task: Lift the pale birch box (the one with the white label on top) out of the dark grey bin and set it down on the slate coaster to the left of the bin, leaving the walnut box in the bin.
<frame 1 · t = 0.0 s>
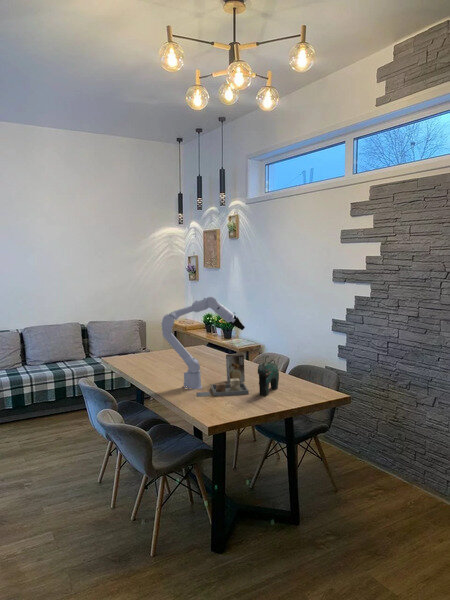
hand: (242, 327, 245), 32 cm above the table, tool tilted 50°, fingers open, 7 cm apart
slate coaster: (203, 395, 230), on the table
walnut box: (220, 393, 231), resting on bin
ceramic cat: (268, 392, 232), on the table
bin: (229, 392, 235), on the table
birch box: (235, 390, 235), resting on bin
coffee box: (235, 382, 254), on the table
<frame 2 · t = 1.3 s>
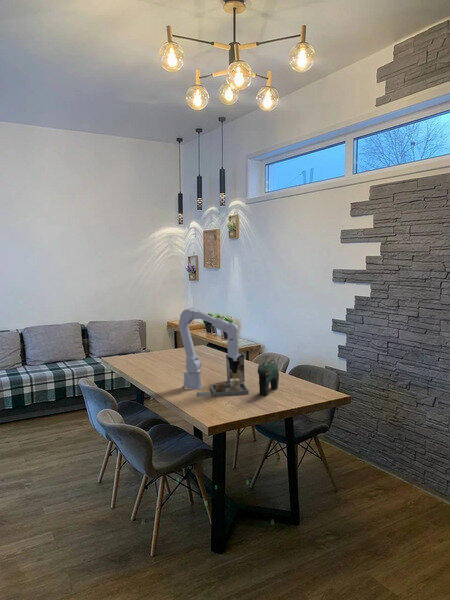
hand: (233, 371, 239), 10 cm above the table, tool pointing down, fingers open, 7 cm apart
nothing on the table moved.
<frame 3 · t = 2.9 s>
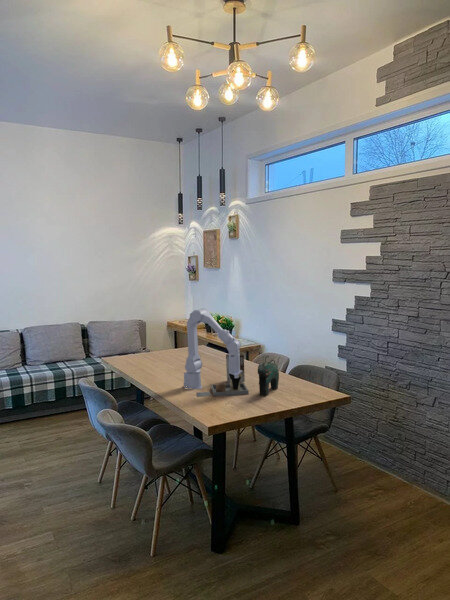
hand: (235, 388, 235), 2 cm above the table, tool pointing down, fingers closed on birch box, 4 cm apart
birch box: (235, 390, 235), resting on bin, touching gripper
everything else where it was.
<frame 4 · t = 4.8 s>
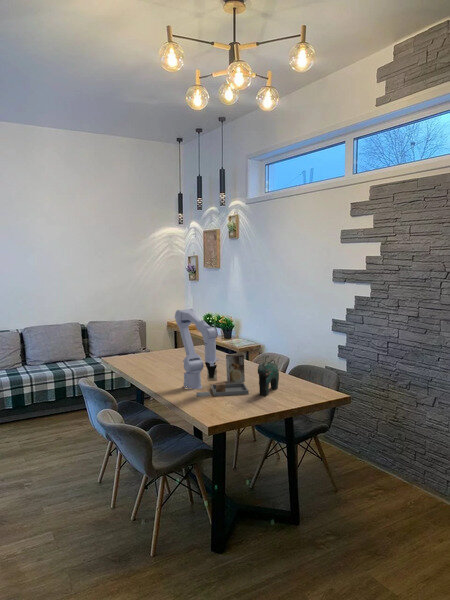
hand: (211, 376, 231), 9 cm above the table, tool pointing down, fingers closed on birch box, 4 cm apart
birch box: (212, 380, 231), point 8 cm above the table, touching gripper
everything else where it was.
when the fingers open (3 cm above the table, at t = 6.8 s): birch box stays where it is, resting on slate coaster.
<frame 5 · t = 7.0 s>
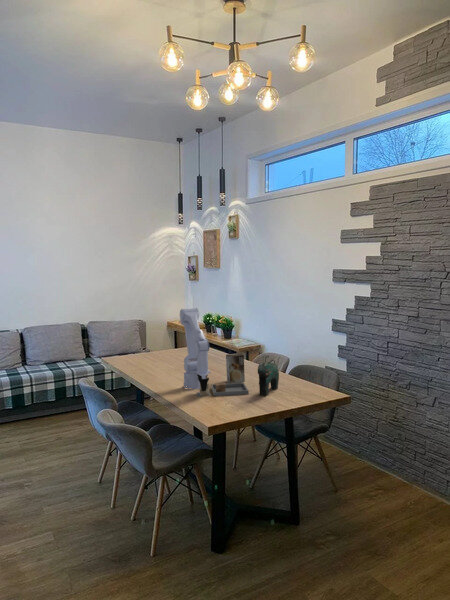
hand: (203, 389, 230), 3 cm above the table, tool pointing down, fingers open, 6 cm apart
birch box: (204, 394, 230), point 1 cm above the table, touching slate coaster
everything else where it was.
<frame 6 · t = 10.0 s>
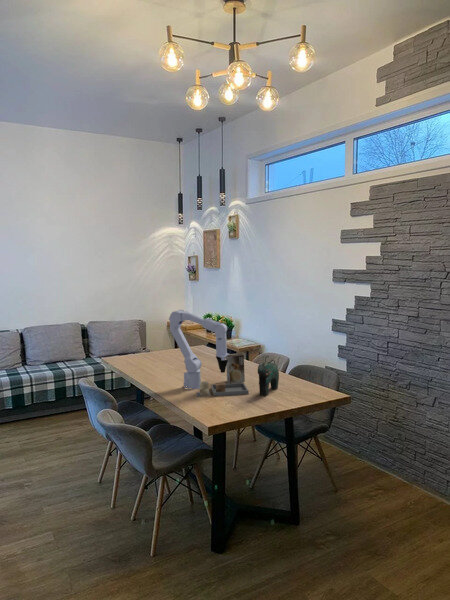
hand: (222, 370, 240), 10 cm above the table, tool pointing down, fingers open, 7 cm apart
nothing on the table moved.
at the end: birch box inside the target area on the slate coaster (0.5 cm from its centre), point 0.6 cm above the slate coaster's base; birch box tilted 0°; walnut box moved 0.0 cm from its start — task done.
